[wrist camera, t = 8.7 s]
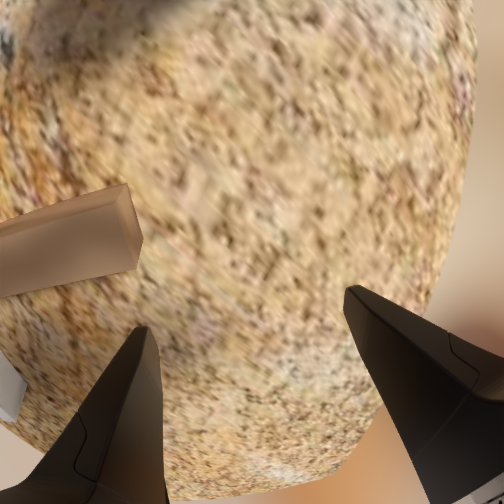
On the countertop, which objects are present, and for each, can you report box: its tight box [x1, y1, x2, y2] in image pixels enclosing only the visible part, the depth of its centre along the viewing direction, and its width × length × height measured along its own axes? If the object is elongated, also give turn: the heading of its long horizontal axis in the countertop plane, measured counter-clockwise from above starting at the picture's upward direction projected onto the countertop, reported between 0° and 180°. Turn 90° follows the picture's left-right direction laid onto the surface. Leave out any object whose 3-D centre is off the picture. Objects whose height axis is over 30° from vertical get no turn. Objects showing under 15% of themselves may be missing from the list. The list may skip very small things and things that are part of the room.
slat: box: [0, 183, 143, 298], centre depth 15 cm, size 4×14×4 cm, turn 97°
